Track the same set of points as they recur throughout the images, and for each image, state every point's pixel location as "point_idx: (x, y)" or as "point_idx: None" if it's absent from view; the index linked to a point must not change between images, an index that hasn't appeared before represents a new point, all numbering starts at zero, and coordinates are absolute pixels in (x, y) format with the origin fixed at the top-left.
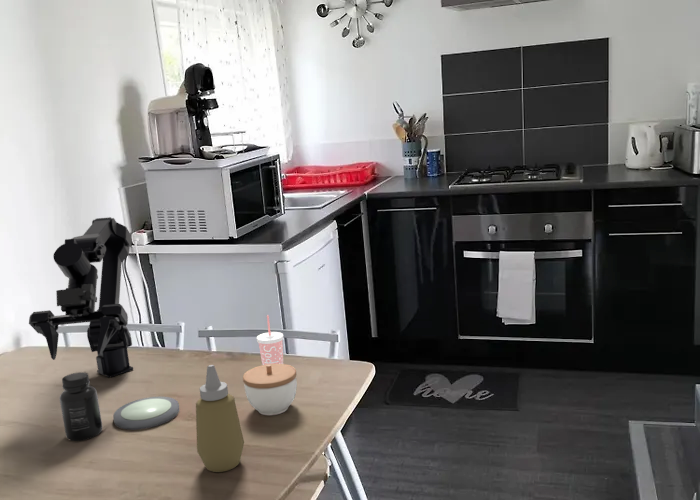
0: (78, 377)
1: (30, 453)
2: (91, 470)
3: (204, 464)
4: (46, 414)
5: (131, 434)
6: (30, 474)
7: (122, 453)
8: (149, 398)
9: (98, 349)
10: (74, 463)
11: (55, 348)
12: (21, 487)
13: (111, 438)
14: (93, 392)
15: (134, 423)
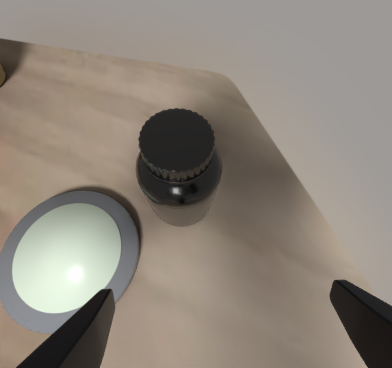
0: (162, 126)
1: (246, 153)
2: (143, 98)
3: (2, 68)
4: (301, 314)
5: (101, 179)
6: (218, 103)
7: (109, 127)
8: (61, 323)
9: (98, 299)
10: None
11: (387, 366)
12: (216, 82)
13: (132, 173)
14: (138, 155)
15: (91, 192)
